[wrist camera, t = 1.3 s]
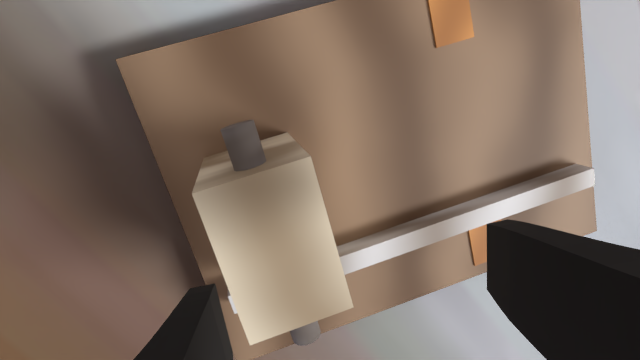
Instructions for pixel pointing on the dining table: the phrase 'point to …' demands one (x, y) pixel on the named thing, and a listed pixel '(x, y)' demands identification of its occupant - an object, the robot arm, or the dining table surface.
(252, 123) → the block
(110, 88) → the dining table surface
